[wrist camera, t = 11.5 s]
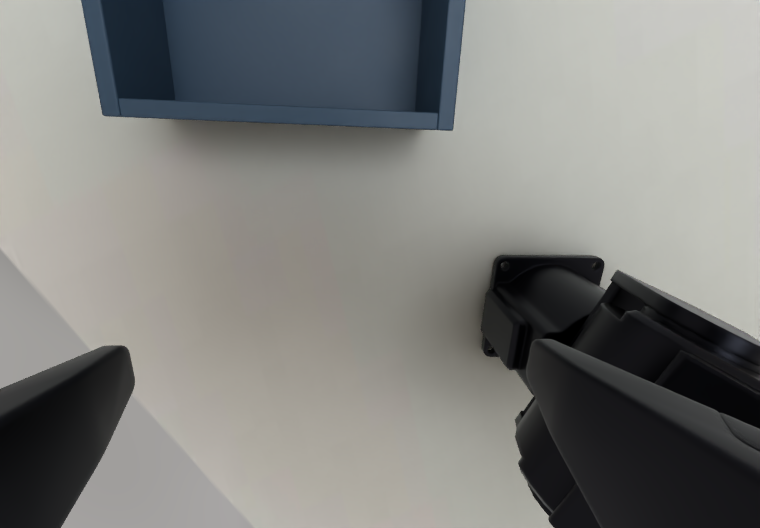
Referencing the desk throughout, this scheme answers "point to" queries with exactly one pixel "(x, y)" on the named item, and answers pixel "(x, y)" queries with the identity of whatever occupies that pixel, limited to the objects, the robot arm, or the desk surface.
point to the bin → (279, 60)
